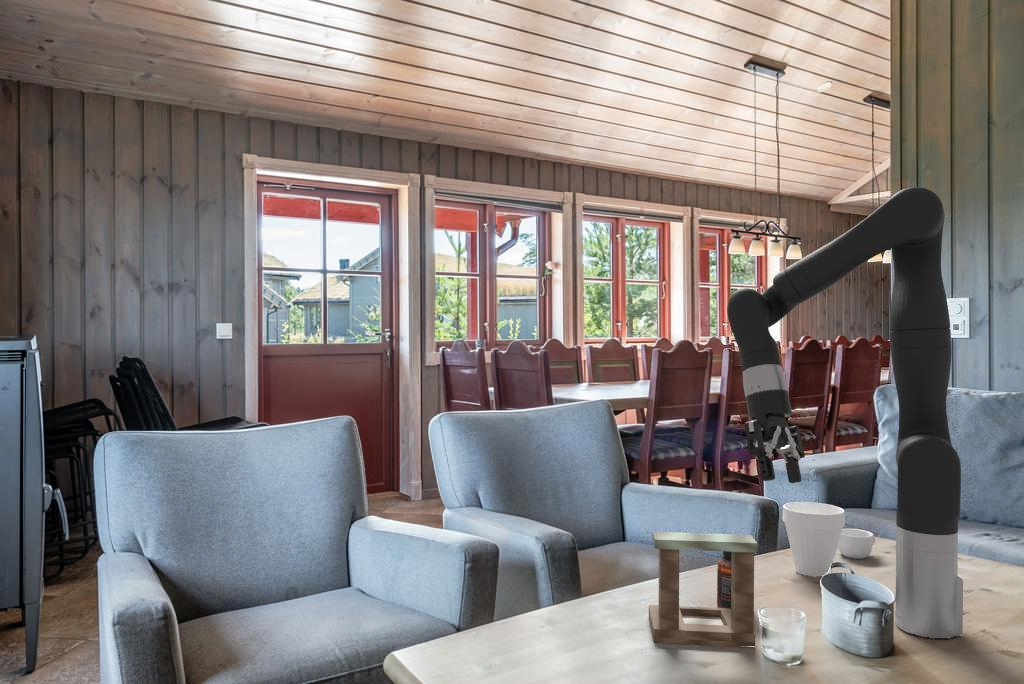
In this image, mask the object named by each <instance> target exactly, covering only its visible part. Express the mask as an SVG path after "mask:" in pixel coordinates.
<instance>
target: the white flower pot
mask: <svg viewBox="0 0 1024 684" xmlns="http://www.w3.org/2000/svg"><path fill="white" fill-rule="evenodd" d="M782 510H783V511H782V521H783V522H784V525H785V529H786V535H787V538H788V543H789V546H790V551H791V555H792V561H793V563H794V570H795V572H796V573H798V574H800V575H802V574H803V575H802V576H806V575H808V576H807V577H811V576H822V575H824V574H825V573H826V572H828V570H829V567H830V564H831V563H833V564H834V561H835V556H836V554H837V550H838V542H839V538H840V535H841V531H842V529H843V528H844V527H845V526H846V524H845V522H846V521H845V510H844V509H843V508H842V507H839V506H836V505H833V504H827V503H821V502H814V501H813V502H812V501H795V502H787V503H784V504H783V505H782Z"/></svg>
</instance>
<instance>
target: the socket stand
mask: <svg viewBox="0 0 1024 684" xmlns="http://www.w3.org/2000/svg"><path fill="white" fill-rule="evenodd" d="M651 541H652V545H653V547H654V549H655V550H658V605H657V604H648V621H649V627H650V631H651V636H652V641H653V643H655V644H656V643H657V644H673V645H674V644H675V645H677V644H678V645H694V646H695V645H696V646H697V645H699V646H716V647H732V646H733V647H734V646H740V647H739V648H742V647H741V646H755V647H756V633H755V631H754V629H755V625H754V624H755V553H758V542H757V541H756V540H755V539H754V537H753V536H752V535H751V534H741V533H740V534H734V533H733V534H732V533H730V534H729V533H704V532H703V533H702V532H675V531H674V532H673V531H652V538H651ZM681 550H682V551H701V552H703V551H706V552H723V551H728V552H731V609H730V608H718V607H708V606H707V607H705V606H703V607H701V606H685V605H683V606H681V605H680V551H681ZM734 648H735V647H734Z"/></svg>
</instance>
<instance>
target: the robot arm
mask: <svg viewBox="0 0 1024 684" xmlns="http://www.w3.org/2000/svg"><path fill="white" fill-rule="evenodd" d="M945 216H946V215H945V207H944V204H943V202H942V200H941V198H940V197H939V195H937V193H935V192H934V191H933V190H932V189H931V190H930V189H928V188H926V187H922V186H912V187H907V188H904V189H901V190H899V191H897V192H896V193H894V194H893V195H892V196H891V197H890V198H889V199H887V200H886V201H885V202H884V203H883V204H881V205H880V206H879V207H878V208H877V209H875V210H874V211H873V212H872V213H870V214H869V215H868V216H867V217H865V218H864V219H863V220H861V221H860V222H858V223H857V224H856V225H855V226H853V227H852V228H850V229H848V230H847V231H846V232H844V233H843V234H841V235H839V236H838V237H836V238H835V239H833V240H832V241H830V242H828V243H826V244H825V245H823V246H821V247H820V248H818V249H817V250H814V251H813V252H811V253H809V254H807V255H806V256H804V257H802V258H801V259H799V260H797V261H796V262H794V263H792V264H791V265H789V266H787V267H785V268H784V269H783V270H781V271H779V272H778V273H776V274H775V275H774V277H773V278H772V285H770V286H769V287H768V288H767V289H765V290H764V291H762V292H759V291H757V290H755V289H753V288H749V287H748V288H747V287H743V288H742V287H741V288H739V289H736V291H733V293H731V296H730V297H729V299H728V301H727V305H726V311H727V319H728V323H729V325H730V329H731V332H732V334H733V338H734V340H735V343H736V345H737V348H738V352H739V359H740V364H741V371H742V384H743V385H742V386H743V390H744V397H745V402H746V409H747V413H748V418H749V420H750V421H746V422H745V423H744V428H745V434H746V441H747V442H746V443H747V449H748V451H747V452H748V454H749V455H750V456H754V457H755V459H756V460H757V461H758V466H759V471H760V476H761V480H762V481H764V482H770V481H774V480H775V479H776V475H775V468H774V463H773V459H772V454H773V450H776V452H777V453H778V454H780V455H781V456H782V458H783V460H784V462H785V463H784V464H785V469H786V474H787V479H788V482H789V483H790V484H797V483H800V482H802V479H803V478H802V473H801V468H800V464H799V461H801V459H803V458H805V457H806V454H805V449H804V445H803V441H802V438H801V431H800V429H799V426H798V425H793V426H789V423H788V420H787V419H788V418H789V417H791V416H792V414H793V410H792V406H791V402H790V401H791V400H790V394H789V390H788V389H789V388H788V386H787V385H788V384H787V379H786V375H785V373H784V369H783V367H782V361H781V356H780V351H779V347H778V344H777V341H776V339H774V337H773V336H772V335H771V333H770V330H769V328H770V327H772V326H773V325H776V324H777V323H778V322H780V321H781V320H782V319H783V318H784V317H786V316H787V315H788V314H789V313H790V312H792V310H793V309H795V308H796V306H798V305H800V304H802V303H804V302H805V301H808V300H810V299H811V298H813V297H814V296H816V295H818V294H820V293H822V292H823V291H825V290H826V289H829V288H830V287H832V286H833V285H835V284H836V283H837V282H839V281H840V280H842V279H844V278H845V277H846V276H847V275H848V274H850V273H852V271H854V270H855V269H856V268H859V266H861V265H863V264H864V263H865V262H867V261H869V260H871V259H873V258H874V257H876V256H878V255H880V254H882V253H884V252H885V251H888V250H891V255H892V261H893V273H894V274H893V286H892V292H891V293H892V294H891V299H890V311H889V341H890V343H889V344H890V354H891V365H892V371H893V372H892V373H893V378H894V384H895V389H896V394H897V399H898V428H897V429H898V433H897V434H898V435H897V444H896V452H895V461H896V465H897V484H896V485H897V486H896V487H897V490H896V491H897V496H896V497H897V499H896V513H895V518H896V519H895V524H896V525H895V531H896V532H895V610H894V612H895V613H894V614H895V626H896V627H898V629H900V630H902V631H904V632H906V633H908V634H911V635H914V634H915V636H919V637H922V638H923V637H924V638H927V637H929V638H928V639H935V638H948V639H950V638H949V637H953V636H956V637H960V636H959V635H963V633H964V580H963V578H962V577H961V576H959V575H958V574H959V573H958V570H959V568H958V567H959V566H958V564H959V563H958V562H959V560H958V559H959V558H958V557H959V553H958V551H959V549H958V546H959V540H958V539H959V520H960V516H961V495H962V494H961V493H962V492H961V490H962V489H961V488H962V467H961V466H962V465H961V460H960V457H959V454H958V452H957V450H956V449H955V448H954V447H953V445H952V440H951V436H950V435H951V434H950V429H949V420H948V414H947V413H948V412H947V398H948V397H947V396H948V389H949V384H950V375H951V369H952V368H951V367H952V336H951V335H952V333H951V321H950V319H951V318H950V313H949V305H948V298H947V294H946V290H945V285H944V281H943V273H942V246H943V245H942V244H943V234H944V233H943V231H944V225H945ZM754 442H755V443H754ZM963 636H964V635H963ZM953 638H954V637H953Z"/></svg>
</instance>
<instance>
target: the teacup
mask: <svg viewBox="0 0 1024 684" xmlns="http://www.w3.org/2000/svg"><path fill="white" fill-rule="evenodd" d="M875 542H876V538H875V536H874V533H872V532H871V531H868V530H863V529H858V528H842V531H841V535H840V538H839V542H838V546H837V550H838V551H839V552H840V554H841V555H843V556H844V557H846V558H849V559H853V560H856V559H857V560H863V559H866V558H867V557H869V556H871V553H872V552H873V551H872V550H873V547H874V544H875Z"/></svg>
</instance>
